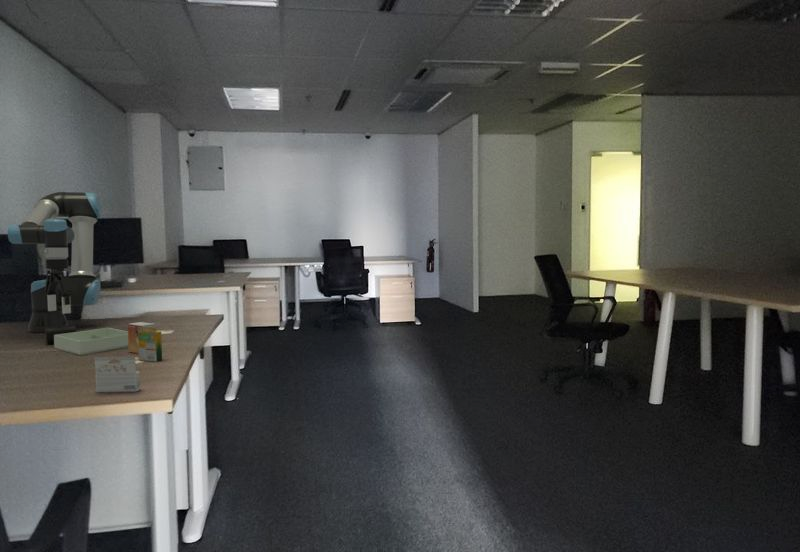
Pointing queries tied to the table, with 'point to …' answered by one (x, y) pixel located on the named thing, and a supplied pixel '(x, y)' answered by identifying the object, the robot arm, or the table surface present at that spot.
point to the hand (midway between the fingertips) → (59, 312)
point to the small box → (136, 334)
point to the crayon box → (149, 344)
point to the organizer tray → (91, 341)
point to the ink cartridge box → (116, 375)
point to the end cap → (57, 332)
